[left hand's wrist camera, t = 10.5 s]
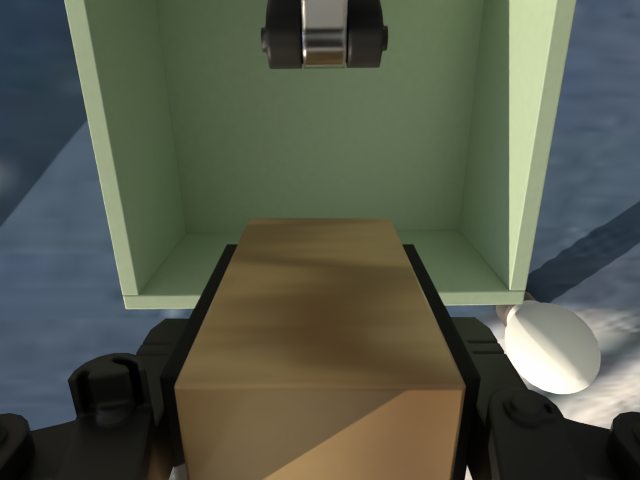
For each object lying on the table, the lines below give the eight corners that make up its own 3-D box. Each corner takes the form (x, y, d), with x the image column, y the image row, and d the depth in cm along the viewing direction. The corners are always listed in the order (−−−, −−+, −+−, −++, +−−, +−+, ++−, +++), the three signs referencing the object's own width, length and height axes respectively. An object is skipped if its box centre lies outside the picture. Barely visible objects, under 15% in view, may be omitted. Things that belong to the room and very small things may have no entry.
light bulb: (468, 312, 44) (512, 387, 34) (518, 262, 42) (581, 325, 32) (516, 346, 46) (573, 428, 36) (567, 299, 44) (642, 372, 34)
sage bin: (180, 238, 31) (125, 309, 22) (136, -78, 24) (32, -156, 15) (465, 235, 31) (523, 304, 22) (501, -83, 24) (606, -165, 15)
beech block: (256, 338, 16) (200, 579, 8) (248, 217, 14) (171, 385, 7) (383, 338, 16) (439, 580, 8) (391, 216, 14) (469, 385, 7)
